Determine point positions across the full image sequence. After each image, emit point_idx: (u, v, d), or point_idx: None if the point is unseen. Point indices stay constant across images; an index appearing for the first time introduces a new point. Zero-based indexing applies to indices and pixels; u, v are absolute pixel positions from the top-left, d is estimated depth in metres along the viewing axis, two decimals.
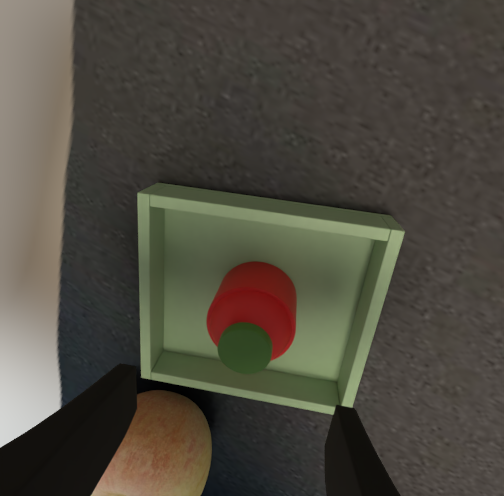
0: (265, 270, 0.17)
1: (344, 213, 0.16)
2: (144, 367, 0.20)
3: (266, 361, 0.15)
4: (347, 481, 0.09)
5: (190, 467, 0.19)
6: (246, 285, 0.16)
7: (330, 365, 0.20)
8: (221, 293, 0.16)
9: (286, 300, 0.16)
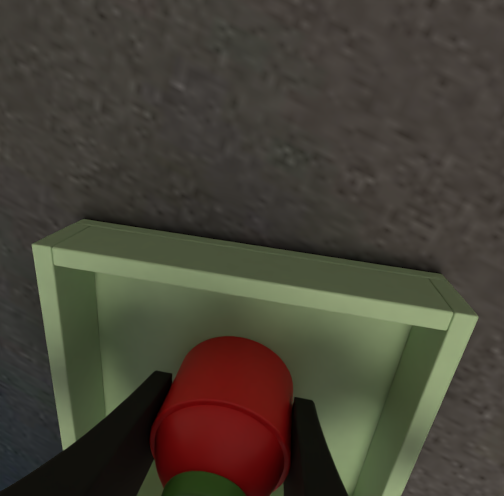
0: (244, 357, 0.11)
1: (370, 274, 0.10)
2: None
3: None
4: (296, 470, 0.09)
5: None
6: (209, 395, 0.10)
7: (342, 475, 0.14)
8: (170, 404, 0.10)
9: (275, 416, 0.10)
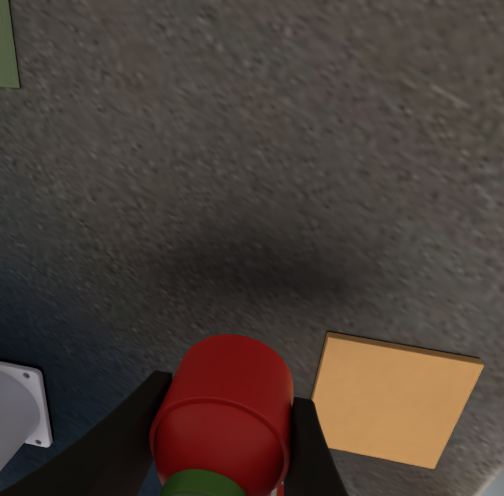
0: (244, 355, 0.11)
1: None
2: None
3: None
4: (296, 470, 0.09)
5: None
6: (209, 393, 0.10)
7: None
8: (169, 403, 0.10)
9: (275, 414, 0.10)
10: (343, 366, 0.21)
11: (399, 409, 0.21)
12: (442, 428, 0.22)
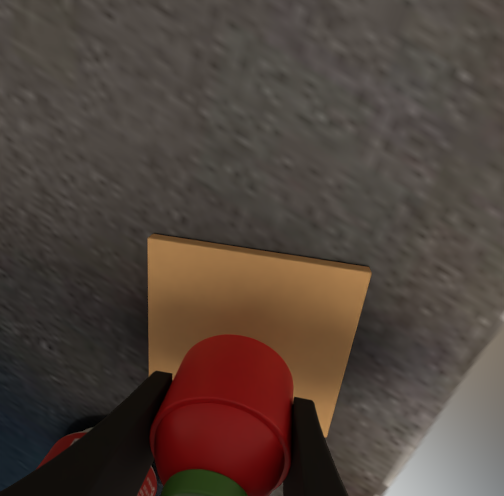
0: (244, 355, 0.11)
1: None
2: None
3: None
4: (295, 470, 0.09)
5: None
6: (209, 393, 0.10)
7: None
8: (170, 403, 0.10)
9: (275, 414, 0.10)
10: (177, 284, 0.14)
11: None
12: (328, 376, 0.15)
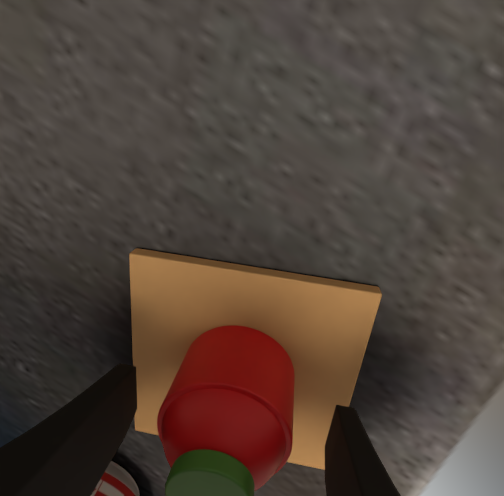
0: (247, 344, 0.12)
1: None
2: None
3: None
4: (347, 481, 0.09)
5: None
6: (215, 379, 0.10)
7: None
8: (177, 388, 0.10)
9: (277, 400, 0.10)
10: (163, 305, 0.13)
11: None
12: (331, 406, 0.14)
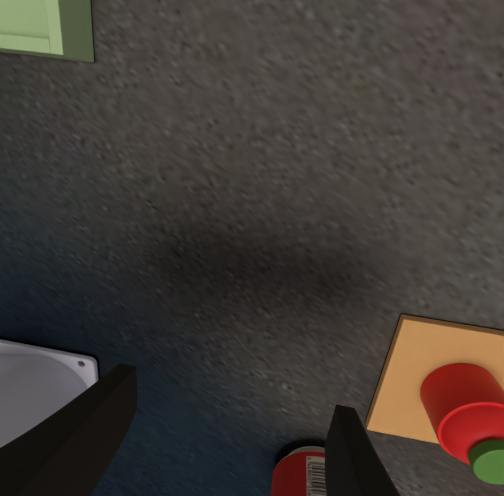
0: (484, 377, 0.19)
1: None
2: None
3: None
4: (347, 481, 0.09)
5: None
6: (486, 399, 0.18)
7: None
8: (459, 405, 0.18)
9: None
10: (417, 350, 0.20)
11: None
12: None
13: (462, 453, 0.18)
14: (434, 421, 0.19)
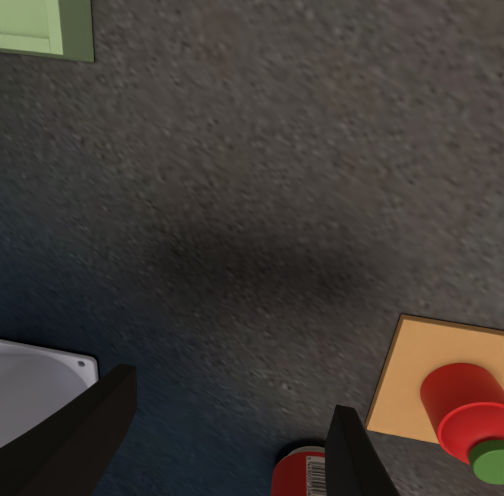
0: (484, 377, 0.19)
1: None
2: None
3: None
4: (347, 481, 0.09)
5: None
6: (486, 399, 0.18)
7: None
8: (459, 405, 0.18)
9: None
10: (417, 350, 0.20)
11: None
12: None
13: (462, 453, 0.18)
14: (434, 421, 0.19)
